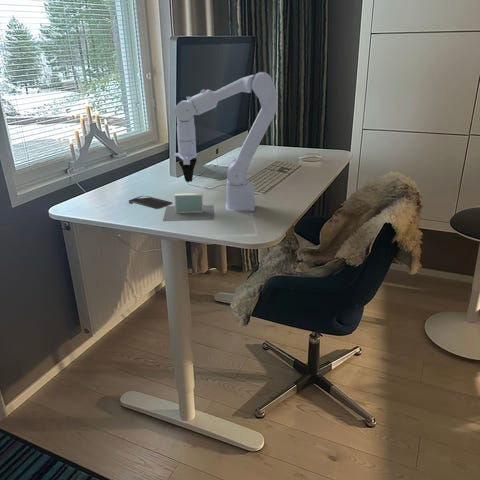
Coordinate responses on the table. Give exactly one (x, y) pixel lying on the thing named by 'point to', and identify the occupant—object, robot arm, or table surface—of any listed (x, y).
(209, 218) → the desk mat
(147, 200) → the phone
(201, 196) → the card box
